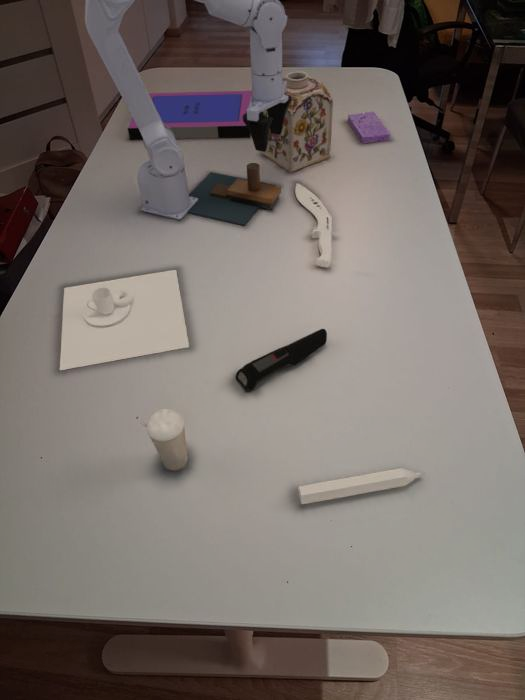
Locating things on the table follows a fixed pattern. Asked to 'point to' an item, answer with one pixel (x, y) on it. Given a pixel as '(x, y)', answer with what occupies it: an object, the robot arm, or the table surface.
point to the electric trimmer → (280, 359)
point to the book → (201, 114)
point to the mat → (220, 202)
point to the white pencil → (356, 485)
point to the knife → (321, 229)
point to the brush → (254, 189)
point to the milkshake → (168, 437)
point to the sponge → (368, 127)
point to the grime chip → (220, 191)
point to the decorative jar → (303, 124)
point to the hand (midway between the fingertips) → (268, 141)
